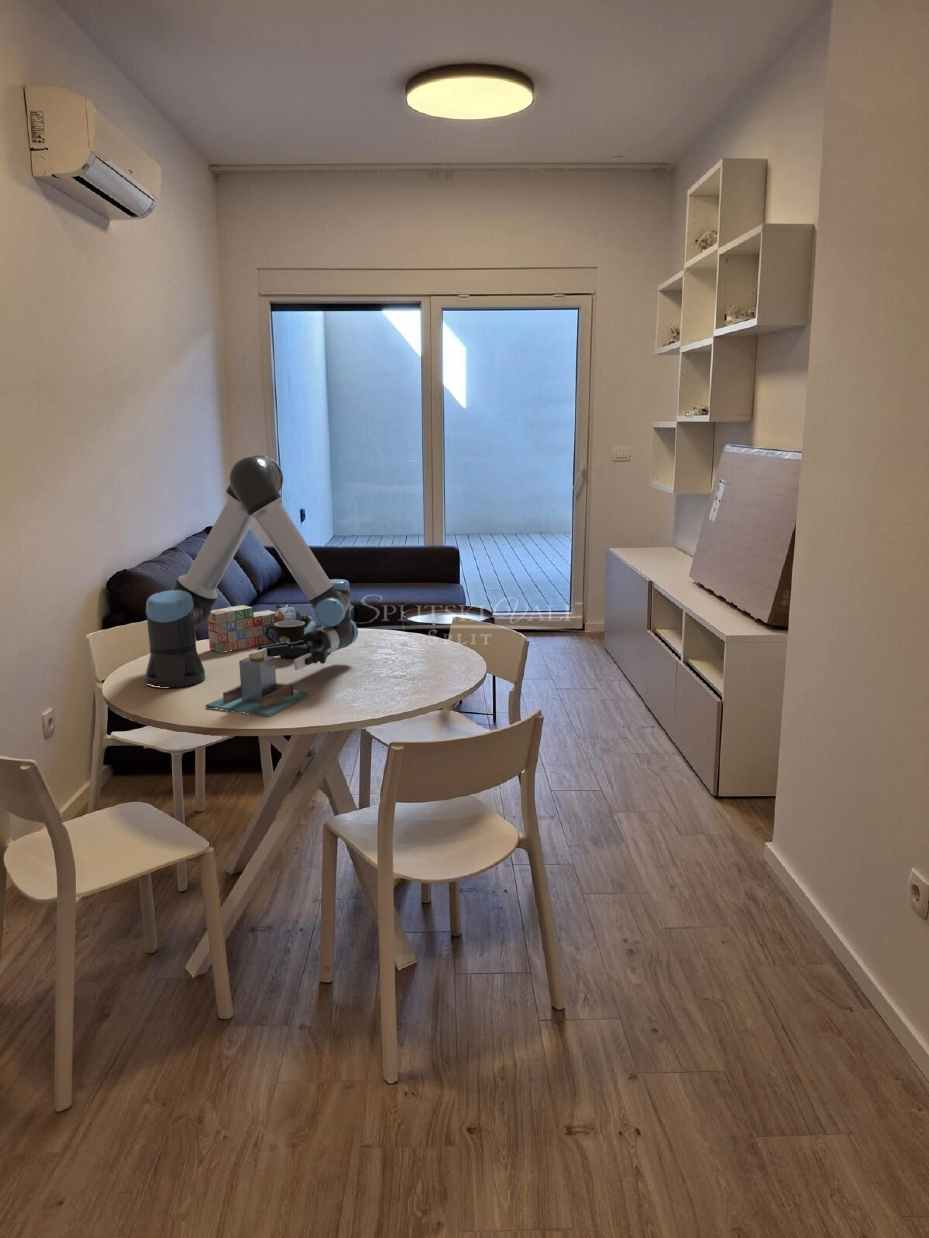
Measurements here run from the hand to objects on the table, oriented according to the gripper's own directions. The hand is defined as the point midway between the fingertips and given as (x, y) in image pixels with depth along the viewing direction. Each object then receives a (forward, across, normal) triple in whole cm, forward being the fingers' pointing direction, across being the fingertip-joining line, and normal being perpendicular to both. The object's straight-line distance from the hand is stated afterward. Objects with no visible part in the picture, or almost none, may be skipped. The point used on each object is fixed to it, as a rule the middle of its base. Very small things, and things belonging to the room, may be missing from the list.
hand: (272, 662), depth 217 cm
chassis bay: (+6, 0, -9) cm, 10 cm away
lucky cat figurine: (-49, +26, -9) cm, 56 cm away
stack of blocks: (-40, +39, -9) cm, 56 cm away
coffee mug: (-34, +19, -9) cm, 40 cm away
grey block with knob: (+6, 0, -8) cm, 10 cm away
